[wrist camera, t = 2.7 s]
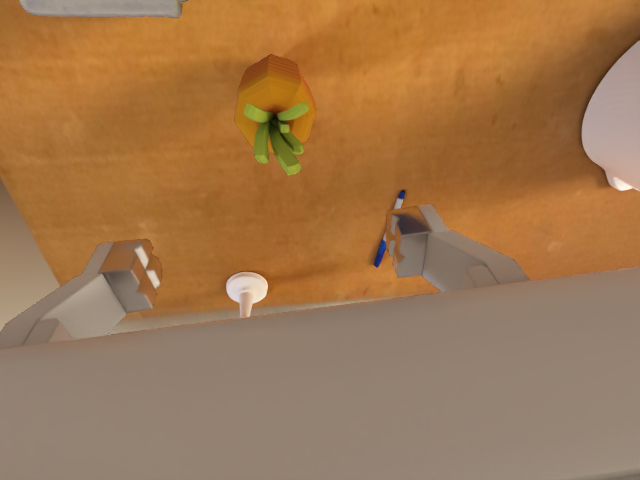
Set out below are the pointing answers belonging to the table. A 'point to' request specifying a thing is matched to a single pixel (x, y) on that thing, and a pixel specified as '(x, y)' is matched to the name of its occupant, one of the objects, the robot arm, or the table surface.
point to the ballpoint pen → (383, 243)
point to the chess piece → (246, 290)
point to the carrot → (275, 111)
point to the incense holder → (104, 8)
